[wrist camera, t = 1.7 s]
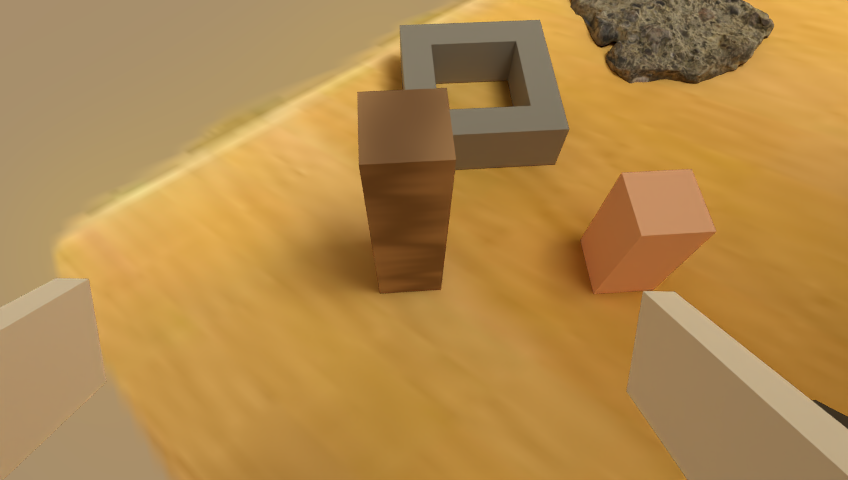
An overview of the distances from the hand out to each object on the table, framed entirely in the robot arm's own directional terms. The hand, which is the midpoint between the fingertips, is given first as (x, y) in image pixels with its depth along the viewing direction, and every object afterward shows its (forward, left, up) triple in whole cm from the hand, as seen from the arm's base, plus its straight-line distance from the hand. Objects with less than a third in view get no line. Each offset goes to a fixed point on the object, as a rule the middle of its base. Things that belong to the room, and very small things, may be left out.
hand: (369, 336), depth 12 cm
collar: (-7, -24, -19) cm, 31 cm away
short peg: (-15, -10, -19) cm, 26 cm away
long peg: (-1, -11, -19) cm, 22 cm away
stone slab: (-26, -33, -20) cm, 47 cm away
